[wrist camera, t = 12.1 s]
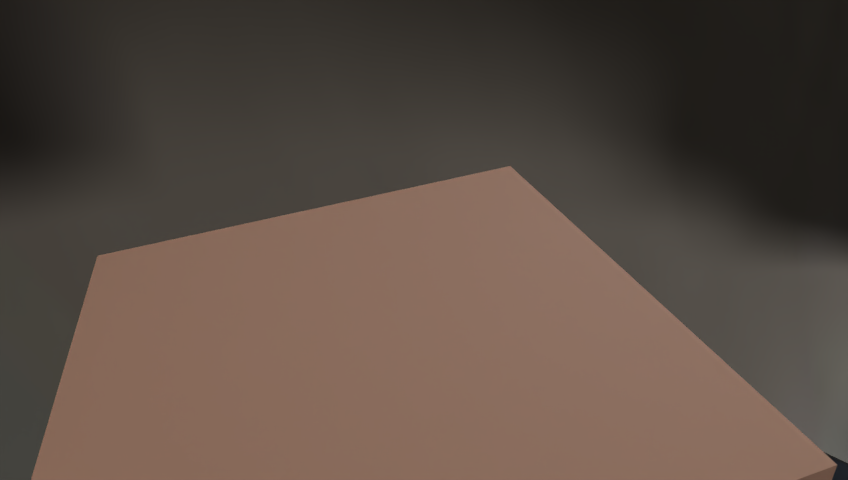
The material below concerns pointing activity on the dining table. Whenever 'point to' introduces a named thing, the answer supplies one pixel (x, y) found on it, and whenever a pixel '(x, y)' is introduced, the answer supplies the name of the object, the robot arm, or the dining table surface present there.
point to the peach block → (401, 356)
